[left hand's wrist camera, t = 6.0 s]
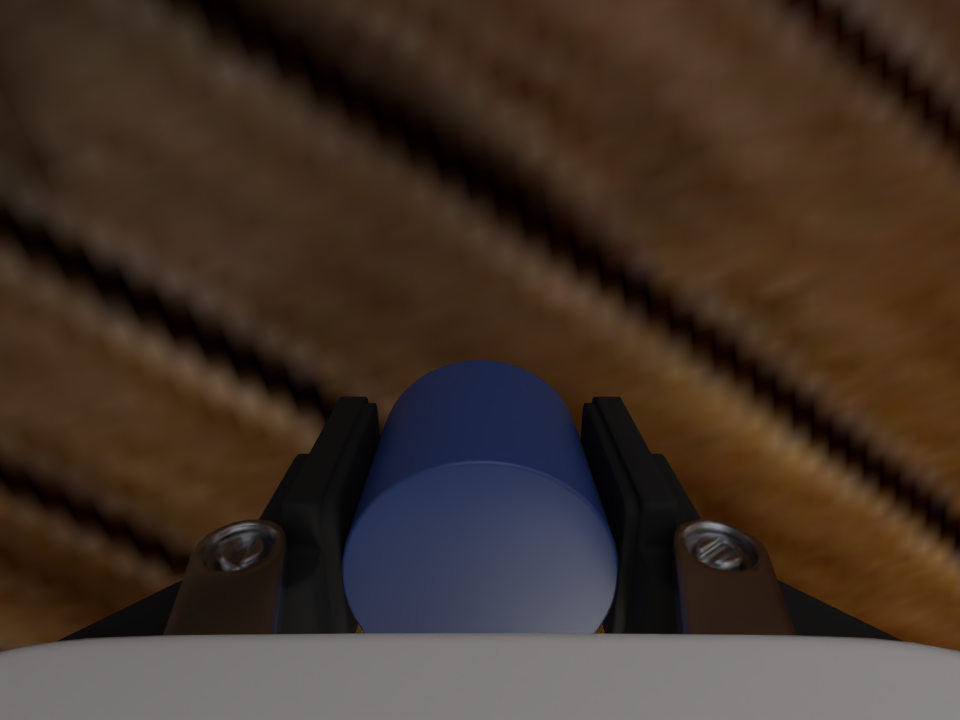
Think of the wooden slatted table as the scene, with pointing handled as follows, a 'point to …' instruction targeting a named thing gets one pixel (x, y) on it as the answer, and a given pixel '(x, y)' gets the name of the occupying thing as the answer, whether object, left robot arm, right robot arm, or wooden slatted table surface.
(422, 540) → the canister
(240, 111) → the wooden slatted table surface
